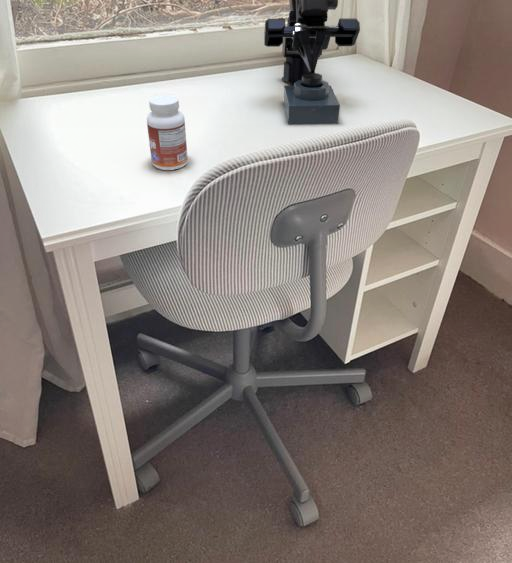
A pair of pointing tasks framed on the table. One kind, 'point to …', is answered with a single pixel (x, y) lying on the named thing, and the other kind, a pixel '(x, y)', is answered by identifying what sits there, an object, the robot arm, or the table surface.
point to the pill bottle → (166, 133)
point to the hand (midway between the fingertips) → (312, 72)
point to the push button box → (311, 104)
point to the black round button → (312, 80)
